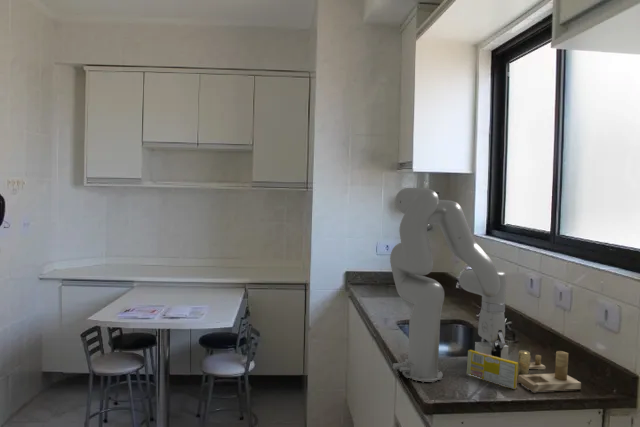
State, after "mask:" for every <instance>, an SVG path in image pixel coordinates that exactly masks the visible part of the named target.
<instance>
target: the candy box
mask: <svg viewBox="0 0 640 427" xmlns="http://www.w3.org/2000/svg"><path fill="white" fill-rule="evenodd" d="M466 362H467V364H466V365H467V366H466V374H467V373H468V374H471V375H474V376H477V377H480V378H482V379H486V380H489V381H492V382H495V383H499V384H502V385H505V386H508V387H511V388H516V387H517V388H518V361H514V360H510V359H508V360H507V359H503V358H499V357H495V356H492V355H488V354H484V353H481V352H477V351H475V350H473V349H468V350H467V361H466Z"/></svg>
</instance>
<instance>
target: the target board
mask: <svg viewBox="0 0 640 427" xmlns="http://www.w3.org/2000/svg"><path fill="white" fill-rule="evenodd" d="M568 365H569V352H566V351H563V350H556V352H555V367H554V373H536V374H535V373H534V374H532V373H531V374H530V373H529V375H518V376H517V383H518V382H519V383H521V384H523V385H524V386H526V387H527V388H529V389H531V390H532V391H544V390H563V389H564V390H565V389H581V390H582V382H581V381H578V380H577V379H576V378H574V377H572V376H570V375H568V369H569V368H568ZM519 383H518V384H519Z"/></svg>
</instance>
